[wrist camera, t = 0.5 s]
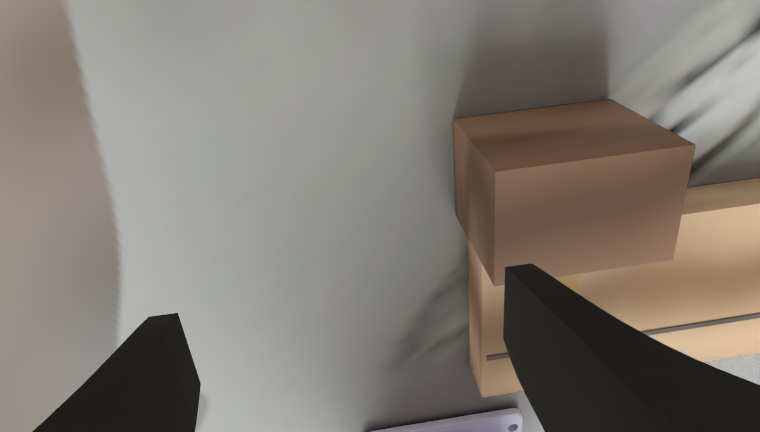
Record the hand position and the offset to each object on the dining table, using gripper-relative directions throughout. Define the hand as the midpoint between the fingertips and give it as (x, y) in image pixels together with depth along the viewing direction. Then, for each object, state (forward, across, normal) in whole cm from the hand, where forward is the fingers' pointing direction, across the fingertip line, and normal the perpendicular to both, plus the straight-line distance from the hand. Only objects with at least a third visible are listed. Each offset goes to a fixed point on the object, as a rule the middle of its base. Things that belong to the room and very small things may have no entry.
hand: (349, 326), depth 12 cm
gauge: (+9, -8, +4) cm, 13 cm away
